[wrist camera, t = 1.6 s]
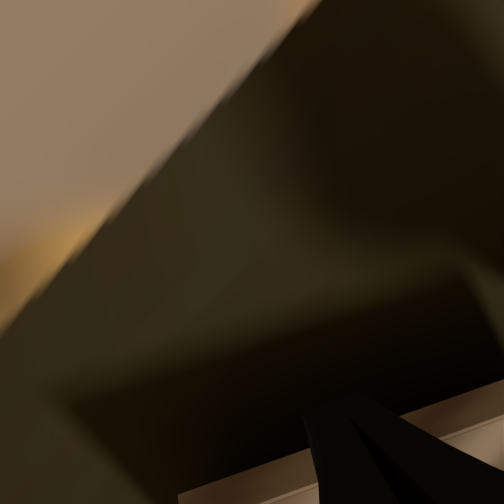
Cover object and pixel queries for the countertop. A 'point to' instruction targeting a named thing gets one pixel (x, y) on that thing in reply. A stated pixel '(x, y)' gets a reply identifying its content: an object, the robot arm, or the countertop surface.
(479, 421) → the plank
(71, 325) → the countertop surface
